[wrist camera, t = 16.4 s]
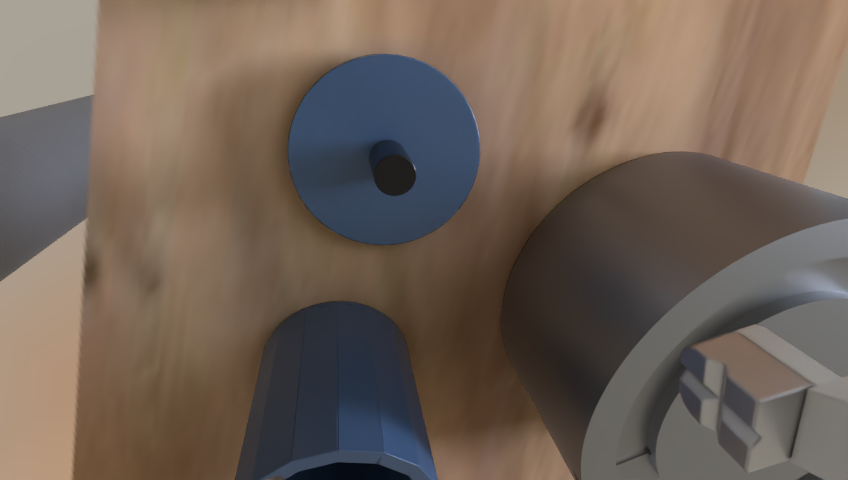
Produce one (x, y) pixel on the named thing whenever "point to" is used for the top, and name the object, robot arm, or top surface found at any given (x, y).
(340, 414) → the tin
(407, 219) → the tin lid
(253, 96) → the top surface
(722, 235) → the container
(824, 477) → the robot arm
